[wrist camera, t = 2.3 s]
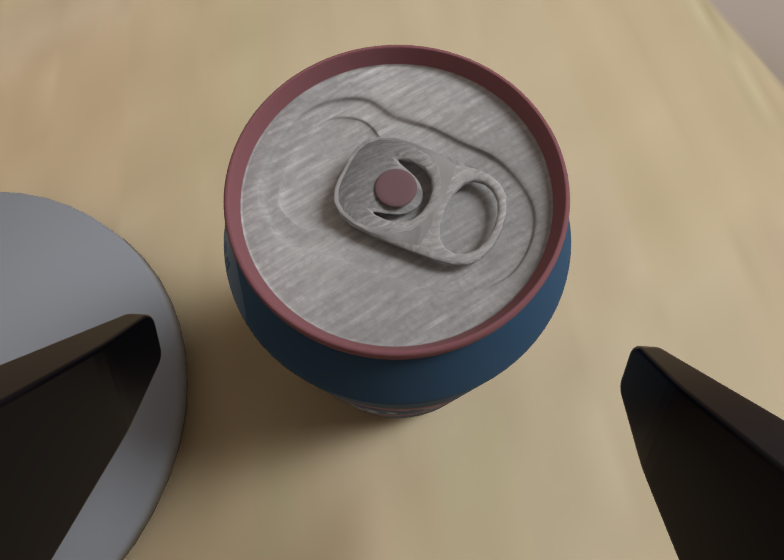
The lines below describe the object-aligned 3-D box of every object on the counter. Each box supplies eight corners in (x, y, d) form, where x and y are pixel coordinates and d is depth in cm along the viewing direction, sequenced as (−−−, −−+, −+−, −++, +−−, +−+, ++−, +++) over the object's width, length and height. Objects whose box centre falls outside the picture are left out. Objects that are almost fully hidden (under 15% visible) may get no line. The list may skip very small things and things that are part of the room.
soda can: (281, 374, 19) (100, 287, 7) (356, 225, 21) (302, -29, 9) (445, 449, 18) (528, 484, 6) (508, 286, 20) (658, 89, 8)
